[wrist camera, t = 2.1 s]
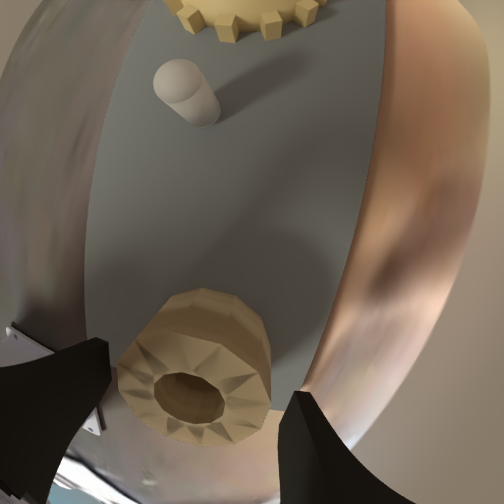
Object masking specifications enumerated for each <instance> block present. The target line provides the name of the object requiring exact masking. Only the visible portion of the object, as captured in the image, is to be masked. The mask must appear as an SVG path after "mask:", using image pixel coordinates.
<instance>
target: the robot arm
mask: <svg viewBox="0 0 504 504" xmlns="http://www.w3.org/2000/svg"><path fill="white" fill-rule="evenodd" d="M6 331H7V337H6V338H4V339H3V340H2V341H0V504H50V502H49V500H48V499H47V498H48V496H49V494H50V488H51V485H52V483H53V480H54V477H55V475H56V472H57V470H58V467H59V465H60V463H61V461H62V458H63V456H64V454H65V452H66V451H67V449H68V448H69V446H70V445H71V443H72V442H73V440H74V439H75V437H76V436H77V435H78V433H79V432H80V430H81V429H82V428H84V429H86V430H88V431H90V432H92V433H94V434H96V435H101V434H102V429H101V425H100V421H99V417H98V412H97V408H96V406H97V405H98V403H99V402H100V400H101V399H102V397H103V395H104V394H105V392H106V390H107V388H108V386H109V384H110V382H111V380H112V378H111V368H110V355H109V342H107V341H105V340H102V339H100V338H97V337H95V338H92V339H89V340H86V341H84V342H81V343H79V344H76V345H74V346H71V347H69V348H66V349H64V350H61V351H59V352H56V353H55V352H53V351H51V350H49V349H47V348H45V347H44V346H42V345H40V344H39V343H37V342H35V341H33V340H32V339H30V338H29V337H27V336H25V335H24V334H22V333H21V332H19V331H17V330H16V329H14V328H13V327H11V326H8V327H6ZM278 463H279V478H280V504H415V503H413V502H412V501H410V500H408V499H406V498H405V497H403V496H401V495H400V494H398V493H397V492H395V491H393V490H392V489H391V488H389V487H388V486H387V485H385V484H384V483H383V482H381V481H380V480H379V479H377V478H376V477H375V476H374V475H373V474H372V473H371V472H370V471H369V470H367V469H366V468H365V467H364V466H363V465H362V464H361V463H360V462H359V461H358V460H357V458H356V457H355V456H354V455H353V454H352V453H351V452H350V450H349V449H348V448H347V447H346V446H345V444H344V443H343V442H342V440H341V439H340V438H339V436H338V435H337V434H336V432H335V431H334V429H333V428H332V426H331V425H330V423H329V422H328V420H327V419H326V417H325V416H324V414H323V412H322V411H321V409H320V408H319V406H318V404H317V403H316V401H315V399H314V398H313V396H312V395H311V393H310V392H303V391H295V390H294V392H293V395H292V397H291V399H290V402H289V404H288V406H287V408H286V411H285V413H284V415H283V417H282V419H281V422H280V424H279V433H278Z"/></svg>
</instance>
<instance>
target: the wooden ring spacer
mask: <svg viewBox="0 0 504 504" xmlns="http://www.w3.org/2000/svg"><path fill="white" fill-rule="evenodd" d="M116 364H117V378H118V389H119V392H120V393H121V395H122V396H123V398H124V399H125V401H126V402H127V404H128V405H129V406H130V408H131V409H132V411H133V412H134V414H135V415H136V416H137V417H138V418H139V419H140V420H142V421H143V422H145V423H146V424H148V425H149V426H151V427H152V428H153V429H155V430H157V431H158V432H160V433H161V434H163V435H164V436H166V437H168V438H172V439H175V440H178V441H182V442H186V443H189V444H193V445H197V446H217V445H229V444H236V443H238V442H239V441H241V440H243V439H245V438H246V437H248V436H250V435H252V434H253V433H255V432H257V431H258V430H260V429H261V428H262V425H263V423H264V420H265V418H266V415H267V413H268V410H269V408H270V405H271V344H270V341H269V339H268V336H267V333H266V330H265V327H264V324H263V321H262V318H261V317H260V316H259V315H258V314H257V313H255V312H254V311H253V310H252V309H251V308H250V307H248V306H247V305H246V304H245V303H244V302H242V301H241V300H240V299H239V298H238V297H237V296H235V295H231V294H227V293H222V292H218V291H214V290H210V289H205V288H198V289H195V290H191V291H188V292H184V293H180V294H177V295H173V296H171V297H170V298H169V300H168V301H167V302H166V303H165V304H164V305H163V307H162V308H161V309H160V310H159V311H158V312H157V314H156V315H155V316H154V317H153V318H152V319H151V321H150V322H149V323H148V324H147V325H146V326H145V328H144V329H143V330H142V331H141V332H140V334H139V335H138V336H137V337H136V338H135V340H134V341H133V342H132V343H131V345H130V346H129V347H128V348H127V349H126V351H125V352H124V353H123V354H122V356H121V357H120V358H119V359H118V361H117V362H116Z"/></svg>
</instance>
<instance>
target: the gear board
mask: <svg viewBox="0 0 504 504" xmlns="http://www.w3.org/2000/svg"><path fill="white" fill-rule="evenodd" d="M385 34H386V0H150V2H149V4H148V6H147V8H146V10H145V12H144V14H143V16H142V18H141V20H140V22H139V24H138V26H137V28H136V31H135V33H134V35H133V38H132V40H131V42H130V45H129V47H128V50H127V52H126V55H125V57H124V60H123V62H122V65H121V68H120V71H119V73H118V76H117V79H116V82H115V85H114V88H113V92H112V95H111V98H110V101H109V105H108V108H107V112H106V116H105V120H104V123H103V128H102V132H101V136H100V140H99V145H98V150H97V155H96V160H95V165H94V171H93V177H92V183H91V190H90V198H89V206H88V215H87V226H86V240H85V262H84V298H85V320H86V334H87V340H89V339H92V338H95V337H97V338H100V339H102V340H105V341H107V342H109V355H110V366H112V367H115V368H117V364H116V362H117V361H118V359H119V358H120V357H121V356H122V354H123V353H124V352H125V351H126V349H127V348H128V347H129V346H130V345H131V343H132V342H133V341H134V340H135V338H136V337H137V336H138V335H139V334H140V332H141V331H142V330H143V329H144V328H145V326H146V325H147V324H148V323H149V322H150V321H151V319H152V318H153V317H154V316H155V315H156V314H157V312H158V311H159V310H160V309H161V308H162V307H163V305H164V304H165V303H166V302H167V301H168V300H169V298H170V297H171V296H173V295H177V294H180V293H184V292H188V291H191V290H195V289H198V288H205V289H210V290H214V291H218V292H222V293H227V294H231V295H235V296H237V297H238V298H239V299H240V300H241V301H242V302H244V303H245V304H246V305H247V306H248V307H250V308H251V309H252V310H253V311H254V312H255V313H257V314H258V315H259V316H260V317H261V318H262V321H263V324H264V327H265V330H266V333H267V336H268V339H269V341H270V344H271V405H270V408H269V409H272V410H279V411H286V408H287V406H288V404H289V402H290V399H291V397H292V395H293V392H294V390H295V391H300V389H301V387H302V384H303V382H304V380H305V377H306V375H307V372H308V370H309V368H310V365H311V363H312V360H313V358H314V355H315V352H316V350H317V347H318V345H319V342H320V339H321V337H322V334H323V331H324V328H325V326H326V323H327V320H328V317H329V314H330V311H331V308H332V306H333V303H334V300H335V296H336V293H337V290H338V287H339V284H340V281H341V278H342V274H343V271H344V268H345V264H346V261H347V257H348V254H349V250H350V247H351V243H352V239H353V236H354V232H355V228H356V224H357V220H358V216H359V212H360V208H361V204H362V199H363V195H364V190H365V186H366V181H367V176H368V171H369V166H370V161H371V156H372V150H373V145H374V139H375V133H376V126H377V119H378V112H379V105H380V97H381V88H382V78H383V67H384V53H385Z"/></svg>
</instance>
